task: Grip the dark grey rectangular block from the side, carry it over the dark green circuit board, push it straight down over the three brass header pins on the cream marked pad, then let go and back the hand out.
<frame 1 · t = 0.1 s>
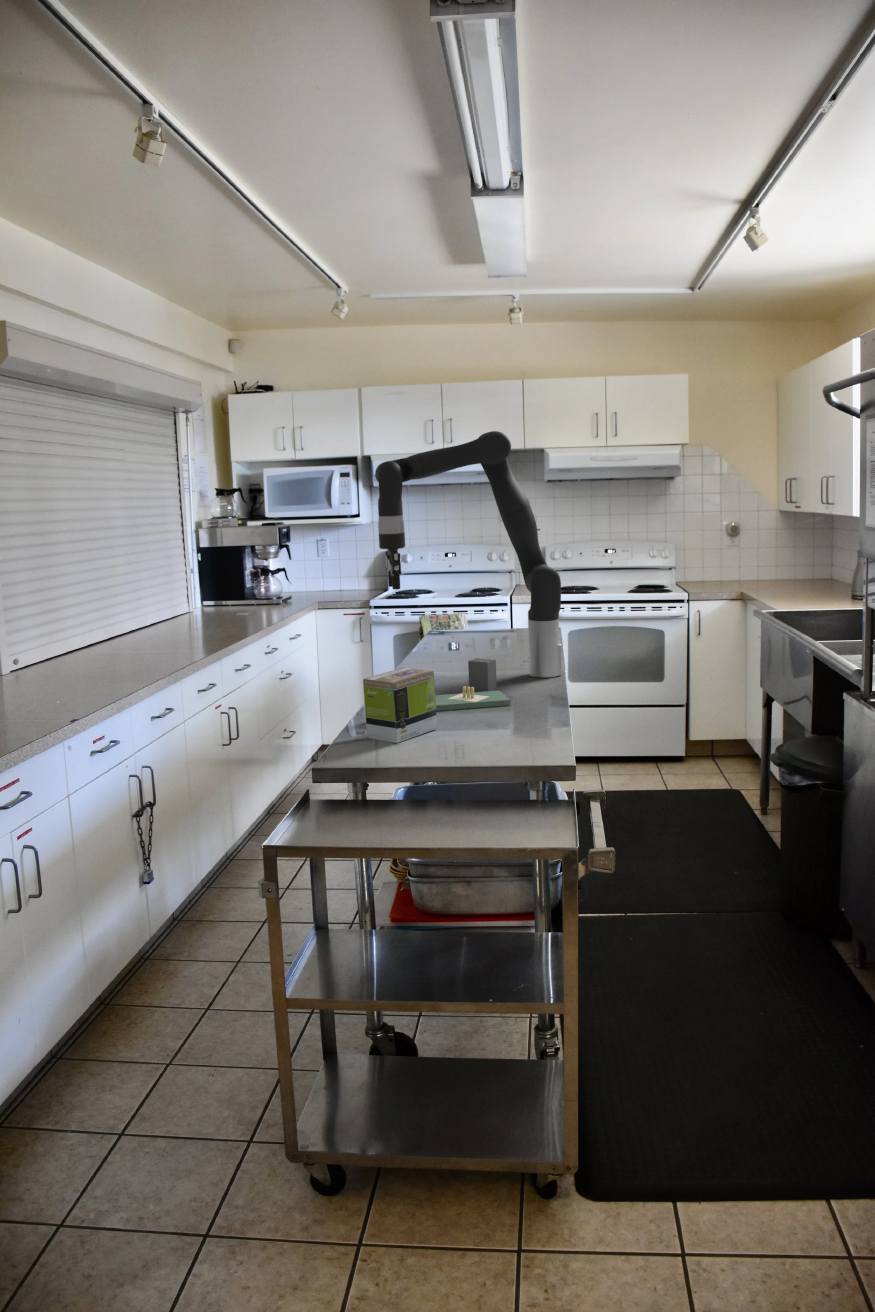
hand: (394, 587, 274), 29 cm above the table, tool pointing down, fingers open, 8 cm apart
dark grey rectangular block: (482, 691, 268), on the table
tea box: (402, 735, 225), on the table
circuit board: (468, 703, 254), on the table
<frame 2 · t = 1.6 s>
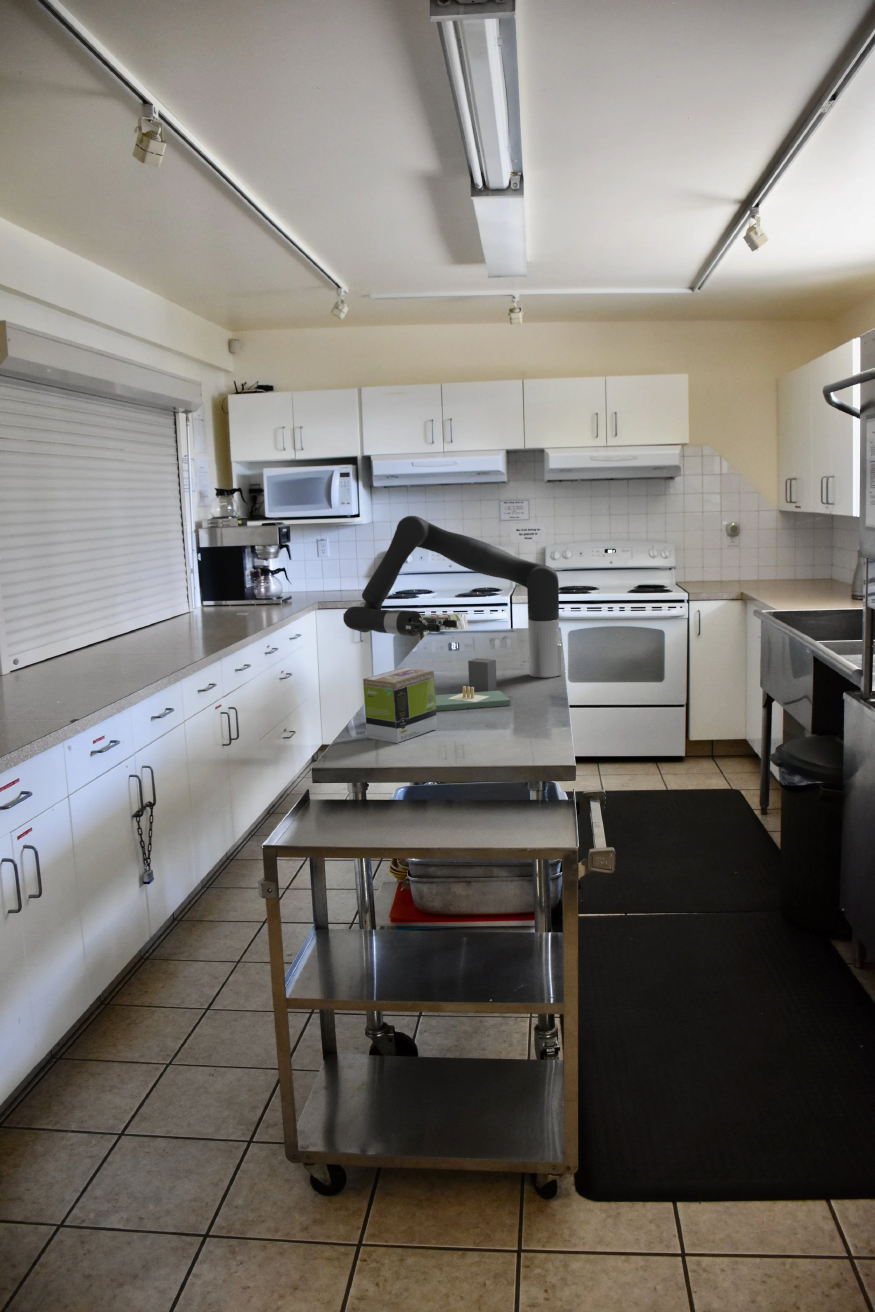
hand: (448, 626, 271), 18 cm above the table, tool horizontal, fingers open, 8 cm apart
nothing on the table moved.
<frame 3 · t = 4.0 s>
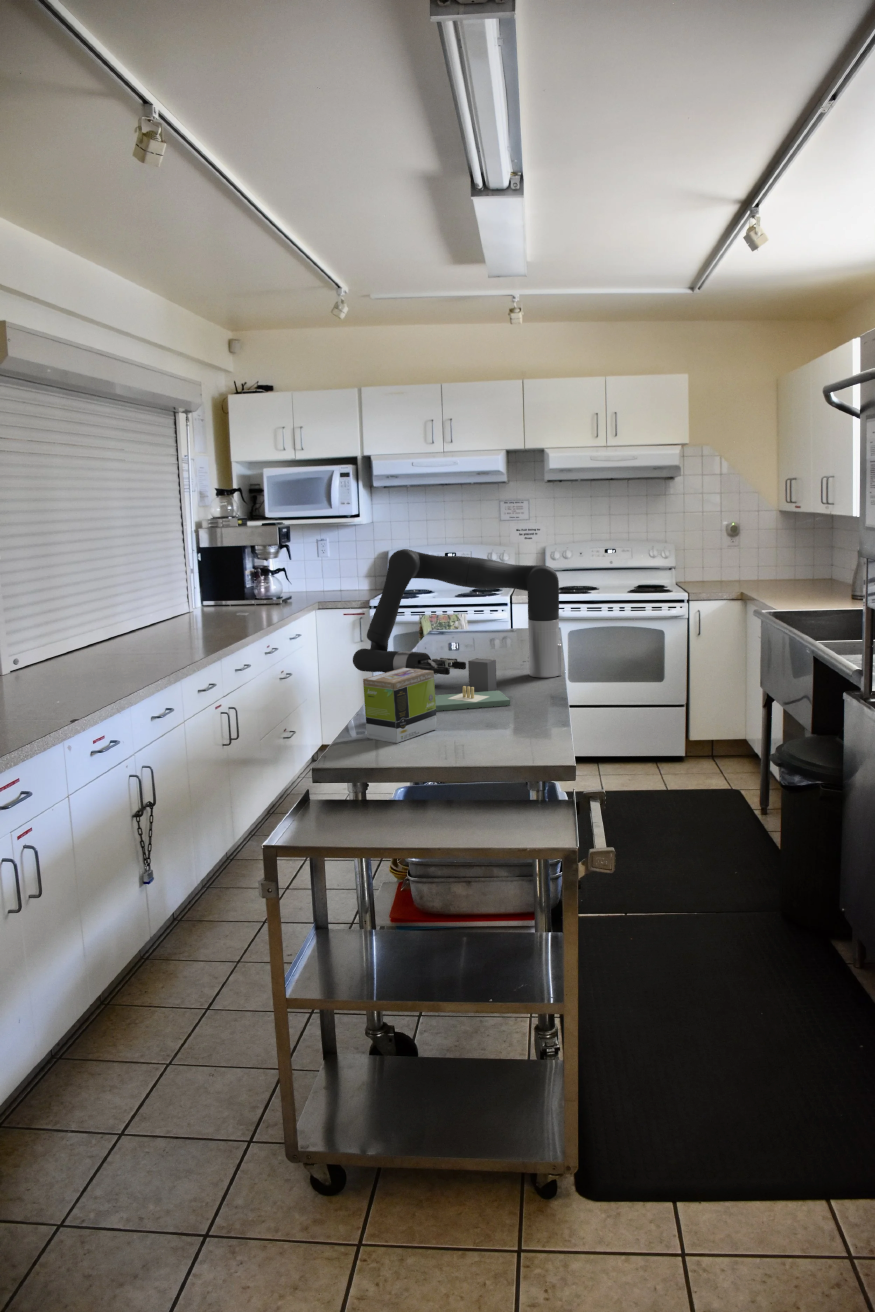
hand: (457, 668, 271), 6 cm above the table, tool horizontal, fingers open, 8 cm apart
nothing on the table moved.
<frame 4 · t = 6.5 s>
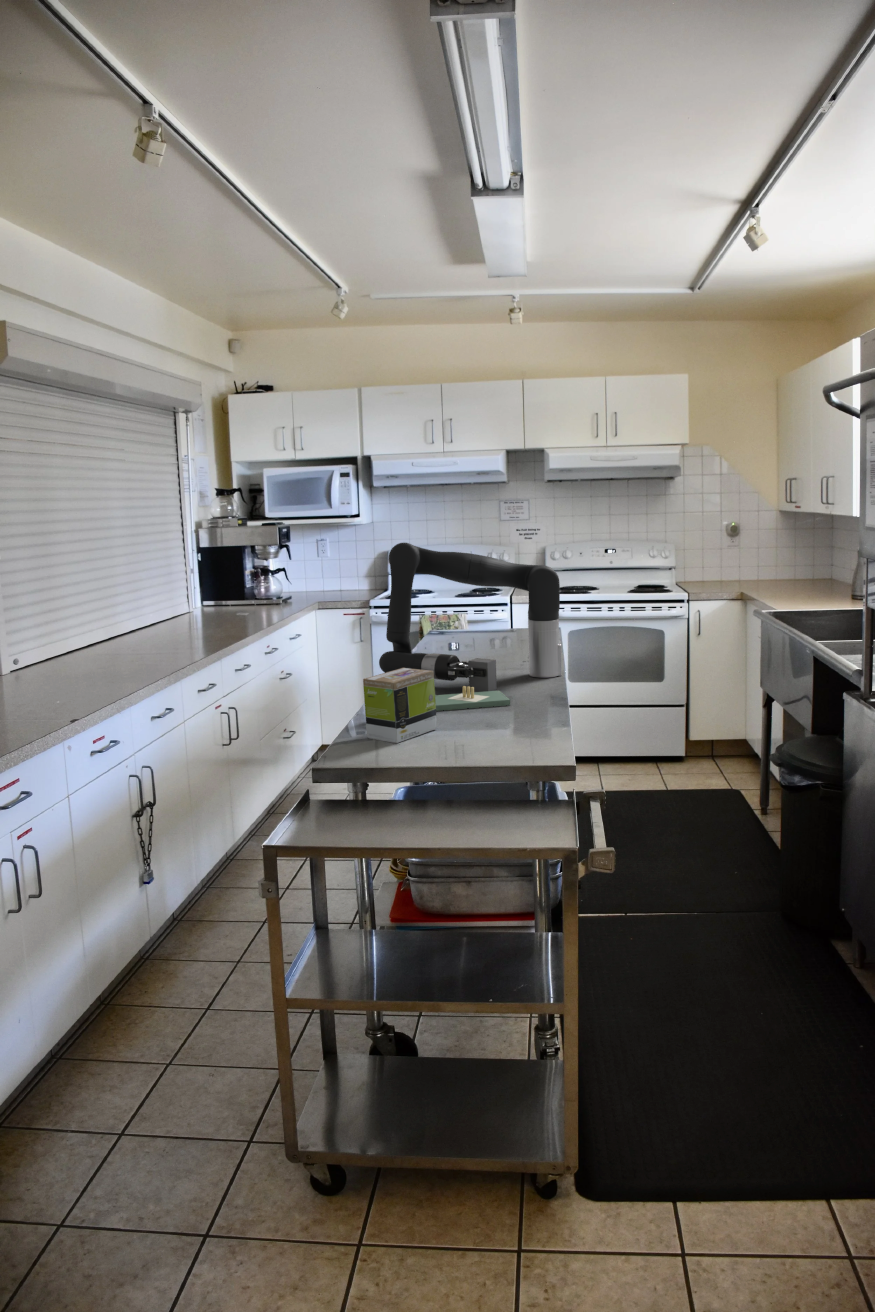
hand: (490, 671, 265), 6 cm above the table, tool horizontal, fingers closed on dark grey rectangular block, 4 cm apart
dark grey rectangular block: (482, 691, 268), on the table, touching gripper
everything else where it was.
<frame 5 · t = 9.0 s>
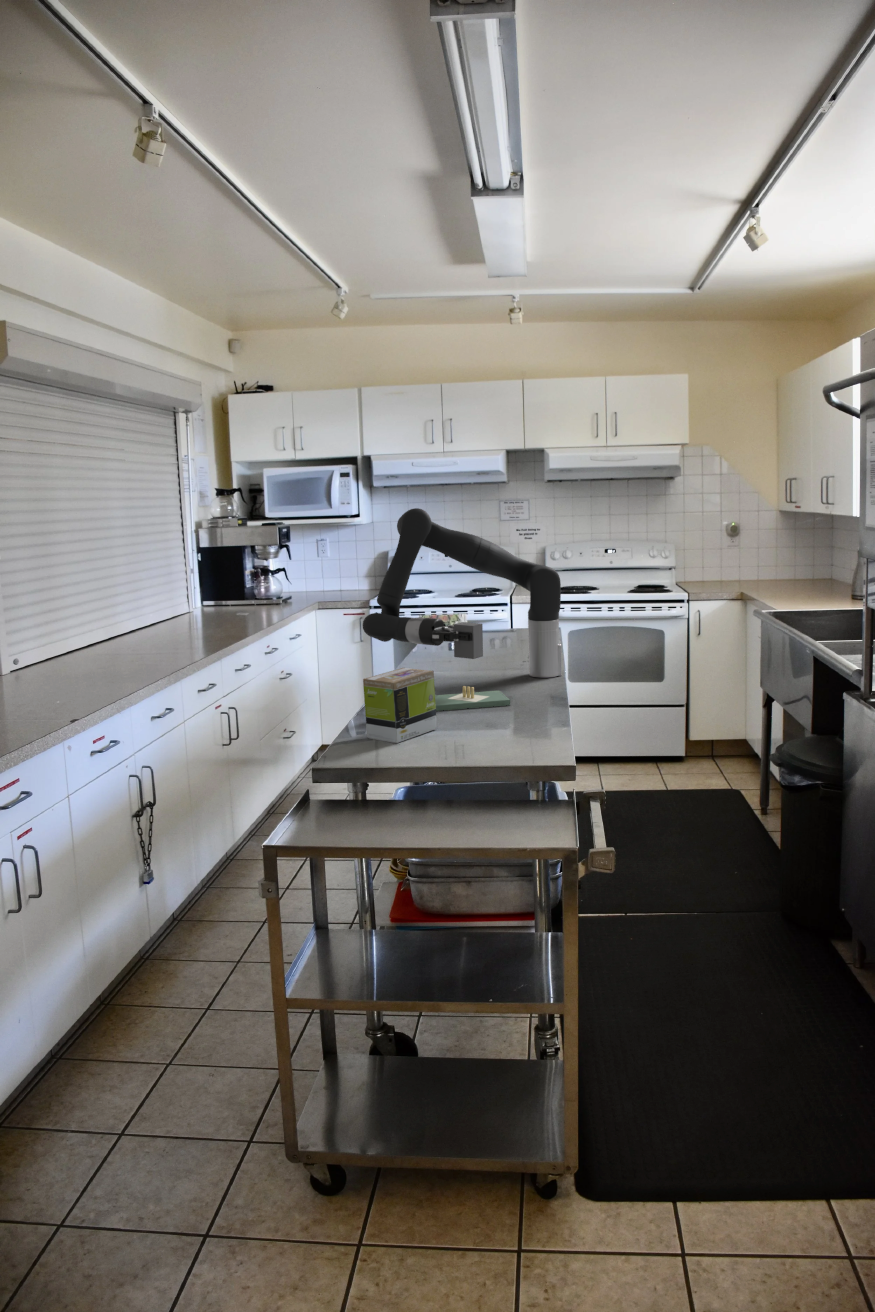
hand: (476, 635, 253), 18 cm above the table, tool horizontal, fingers closed on dark grey rectangular block, 4 cm apart
dark grey rectangular block: (468, 656, 256), point 12 cm above the table, touching gripper
everything else where it was.
when the fingers open (8 cm above the table, at t = 11.6 s): dark grey rectangular block stays where it is, resting on circuit board.
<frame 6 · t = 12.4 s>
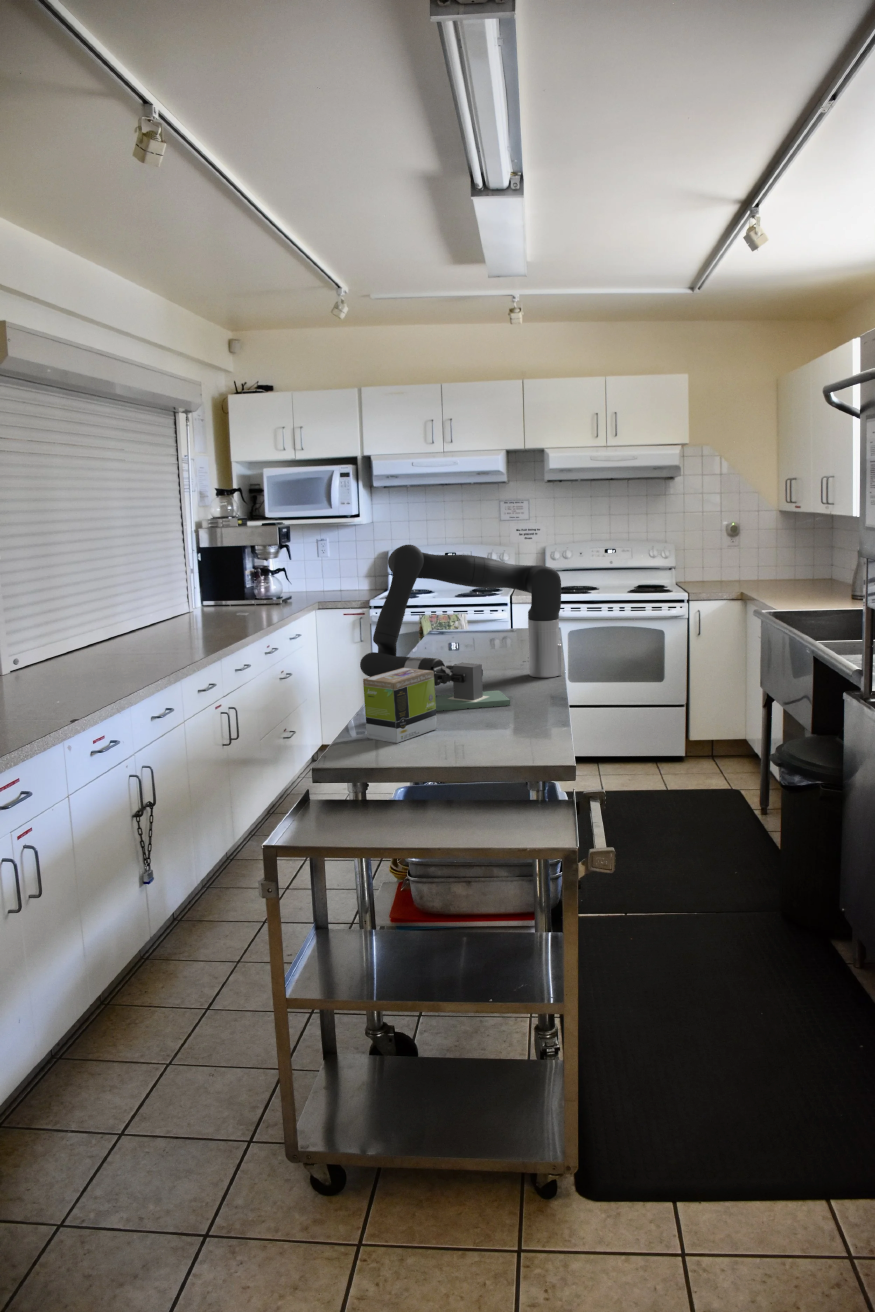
hand: (473, 675, 251), 8 cm above the table, tool horizontal, fingers open, 8 cm apart
dark grey rectangular block: (468, 697, 254), point 2 cm above the table, touching circuit board
everything else where it was.
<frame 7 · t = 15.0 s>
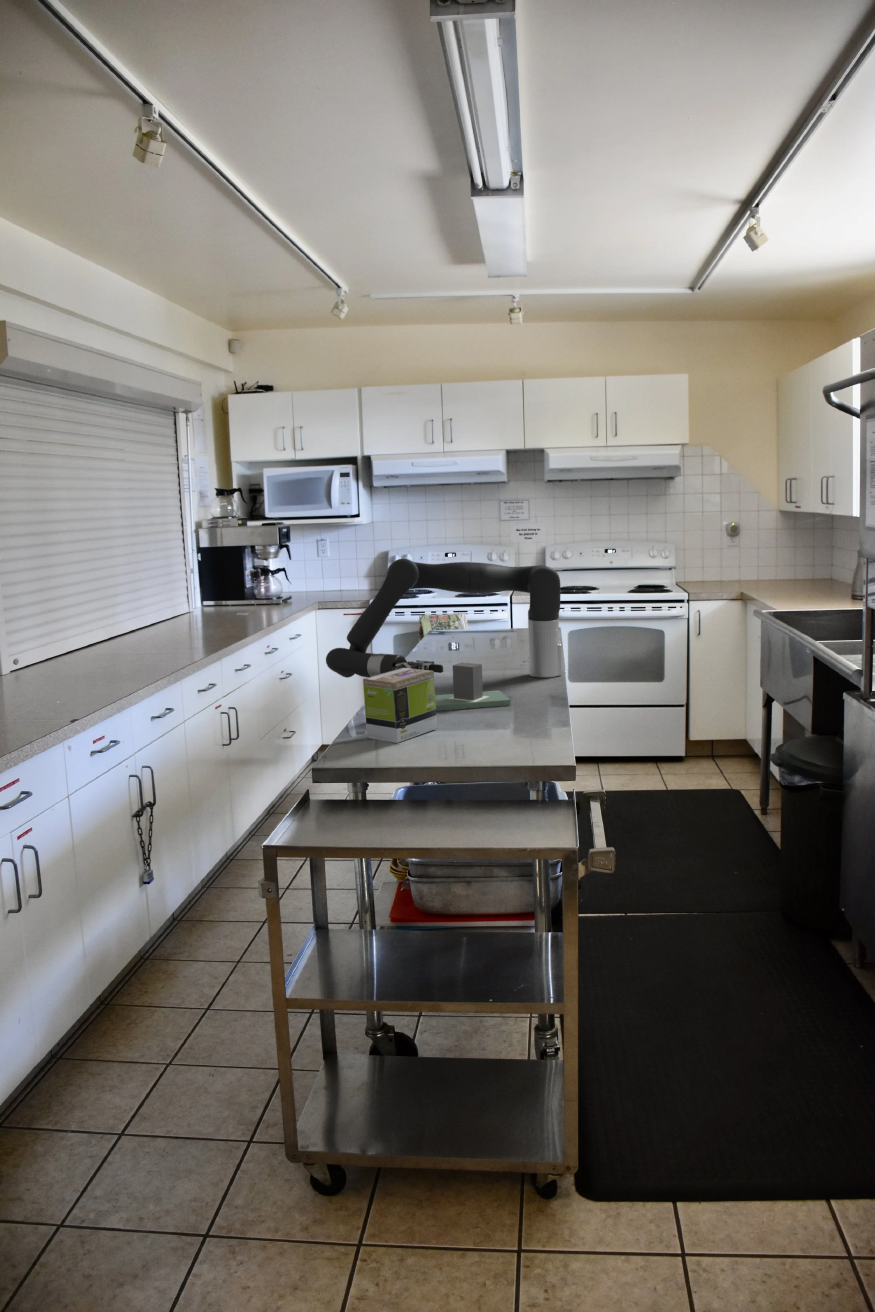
hand: (433, 671, 259), 8 cm above the table, tool horizontal, fingers open, 8 cm apart
nothing on the table moved.
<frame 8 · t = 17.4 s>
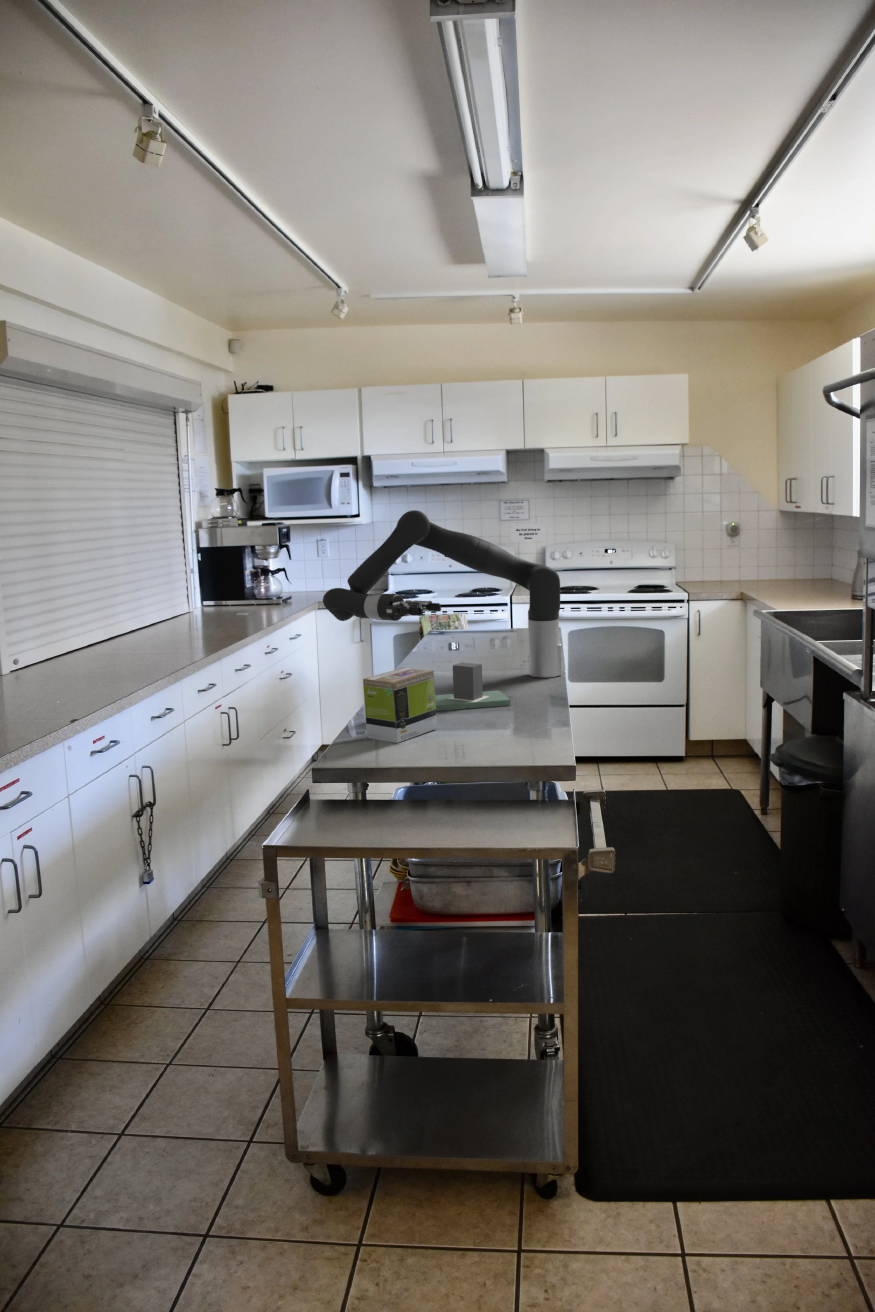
hand: (431, 609, 256), 25 cm above the table, tool horizontal, fingers open, 8 cm apart
nothing on the table moved.
at the end: dark grey rectangular block 0.1 cm off-centre on the circuit board, point 1.6 cm above the circuit board's base; dark grey rectangular block tilted 0°; the gripper is holding nothing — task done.
